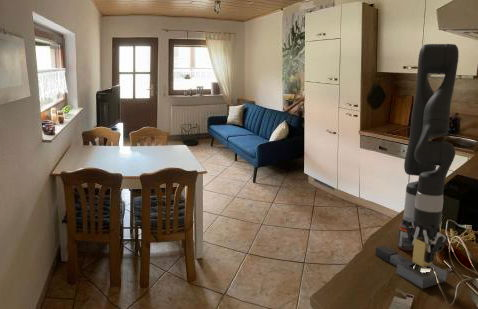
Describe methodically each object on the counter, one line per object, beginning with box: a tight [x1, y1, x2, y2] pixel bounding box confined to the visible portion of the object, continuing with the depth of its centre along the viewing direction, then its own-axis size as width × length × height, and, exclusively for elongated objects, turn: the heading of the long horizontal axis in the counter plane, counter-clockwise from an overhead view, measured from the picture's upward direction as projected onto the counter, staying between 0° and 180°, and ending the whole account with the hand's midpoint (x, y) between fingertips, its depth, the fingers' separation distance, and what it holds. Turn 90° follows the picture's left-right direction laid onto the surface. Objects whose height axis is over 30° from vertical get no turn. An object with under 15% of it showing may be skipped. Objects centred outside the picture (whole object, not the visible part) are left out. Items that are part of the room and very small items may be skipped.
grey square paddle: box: [375, 244, 448, 289], centre depth 129 cm, size 10×22×3 cm, turn 24°
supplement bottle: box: [397, 216, 416, 252], centre depth 143 cm, size 6×6×11 cm
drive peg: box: [411, 237, 434, 267], centre depth 122 cm, size 4×4×8 cm
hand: (422, 258), depth 123 cm, fingers closed on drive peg, 4 cm apart
